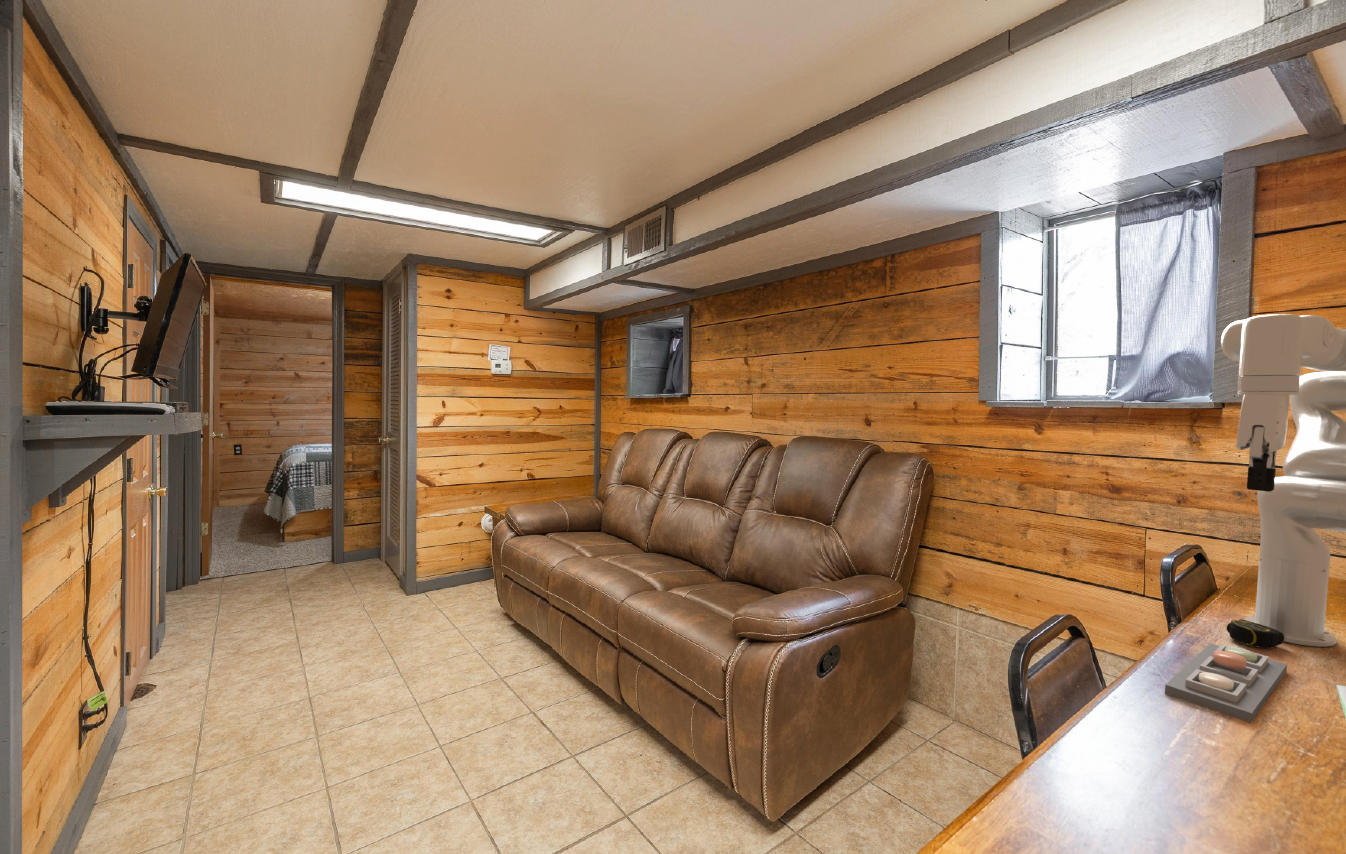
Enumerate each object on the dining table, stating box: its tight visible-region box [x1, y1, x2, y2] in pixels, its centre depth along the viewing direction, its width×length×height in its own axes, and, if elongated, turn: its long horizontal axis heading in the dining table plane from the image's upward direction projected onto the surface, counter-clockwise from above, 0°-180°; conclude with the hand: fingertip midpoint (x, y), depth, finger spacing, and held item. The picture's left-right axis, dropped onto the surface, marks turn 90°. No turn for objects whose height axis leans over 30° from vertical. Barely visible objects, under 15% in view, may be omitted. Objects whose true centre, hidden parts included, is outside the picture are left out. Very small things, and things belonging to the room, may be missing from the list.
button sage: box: [1225, 646, 1257, 664], centre depth 101 cm, size 4×4×1 cm
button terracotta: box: [1213, 651, 1247, 669], centre depth 96 cm, size 4×4×1 cm
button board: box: [1164, 642, 1288, 724], centre depth 97 cm, size 26×10×3 cm, turn 125°
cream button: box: [1199, 672, 1234, 692], centre depth 92 cm, size 4×4×1 cm
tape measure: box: [1226, 618, 1285, 649], centre depth 112 cm, size 7×7×4 cm
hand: (1260, 489), depth 103 cm, fingers closed
